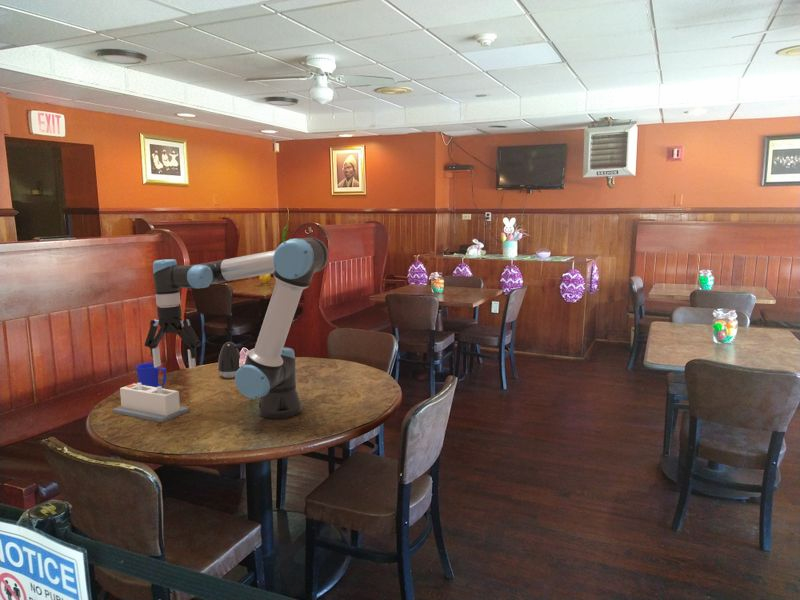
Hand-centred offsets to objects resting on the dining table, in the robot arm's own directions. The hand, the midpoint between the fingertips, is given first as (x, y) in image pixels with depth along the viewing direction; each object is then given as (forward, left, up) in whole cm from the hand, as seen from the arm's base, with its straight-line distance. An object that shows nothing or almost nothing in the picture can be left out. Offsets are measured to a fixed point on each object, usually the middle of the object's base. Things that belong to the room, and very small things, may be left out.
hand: (174, 367), depth 195 cm
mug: (+33, -19, -18) cm, 42 cm away
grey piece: (+13, 0, -18) cm, 22 cm away
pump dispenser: (+17, -46, -18) cm, 52 cm away
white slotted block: (+13, 0, -17) cm, 21 cm away
